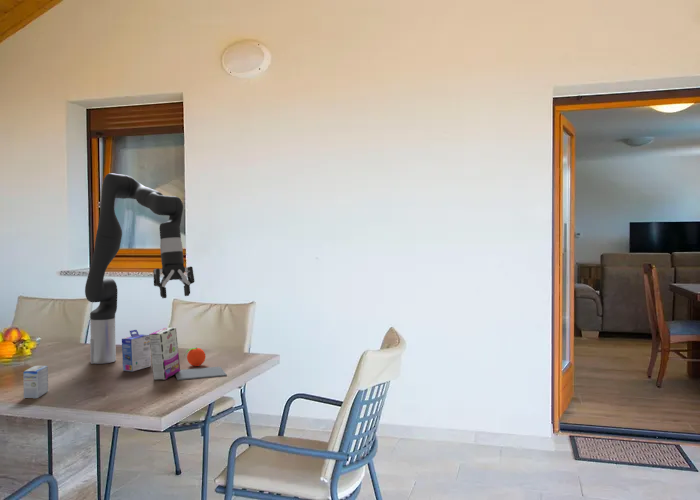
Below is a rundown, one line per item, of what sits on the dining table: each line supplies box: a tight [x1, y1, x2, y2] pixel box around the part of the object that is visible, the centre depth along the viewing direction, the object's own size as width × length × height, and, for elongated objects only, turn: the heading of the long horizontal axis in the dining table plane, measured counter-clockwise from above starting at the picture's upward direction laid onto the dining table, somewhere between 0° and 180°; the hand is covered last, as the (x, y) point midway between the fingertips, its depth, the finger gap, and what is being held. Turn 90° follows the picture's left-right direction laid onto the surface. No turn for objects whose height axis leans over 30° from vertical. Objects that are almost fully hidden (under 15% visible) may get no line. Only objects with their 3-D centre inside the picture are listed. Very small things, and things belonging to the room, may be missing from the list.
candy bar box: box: [148, 326, 181, 381], centre depth 217 cm, size 11×5×16 cm, turn 168°
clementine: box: [184, 347, 206, 367], centre depth 234 cm, size 8×7×7 cm
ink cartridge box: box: [121, 329, 152, 372], centre depth 230 cm, size 10×6×14 cm, turn 155°
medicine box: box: [22, 365, 49, 399], centre depth 193 cm, size 8×4×9 cm, turn 5°
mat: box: [174, 366, 228, 381], centre depth 221 cm, size 17×14×1 cm
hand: (175, 297), depth 215 cm, fingers open, 8 cm apart
